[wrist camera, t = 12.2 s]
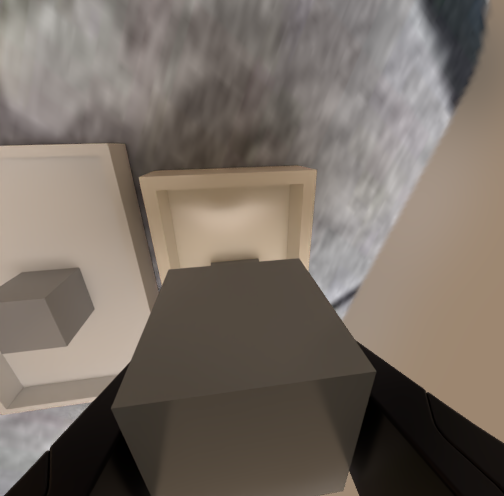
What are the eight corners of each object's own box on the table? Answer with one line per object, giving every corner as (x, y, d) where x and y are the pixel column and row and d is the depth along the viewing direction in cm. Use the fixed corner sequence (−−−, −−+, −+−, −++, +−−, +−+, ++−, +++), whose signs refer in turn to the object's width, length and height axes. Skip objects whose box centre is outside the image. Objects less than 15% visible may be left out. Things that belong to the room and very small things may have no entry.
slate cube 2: (188, 363, 9) (164, 524, 5) (168, 269, 7) (110, 409, 3) (293, 350, 9) (343, 491, 5) (299, 258, 7) (377, 371, 4)
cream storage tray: (182, 319, 22) (176, 351, 19) (154, 170, 17) (138, 177, 13) (290, 307, 23) (302, 335, 20) (297, 165, 18) (316, 169, 14)
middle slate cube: (42, 314, 19) (1, 354, 15) (22, 272, 17) (-30, 305, 14) (94, 309, 20) (66, 346, 16) (79, 267, 18) (44, 298, 14)
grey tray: (25, 384, 23) (1, 414, 20) (-122, 149, 14) (-196, 150, 12) (174, 365, 24) (170, 390, 22) (125, 143, 16) (107, 143, 13)
